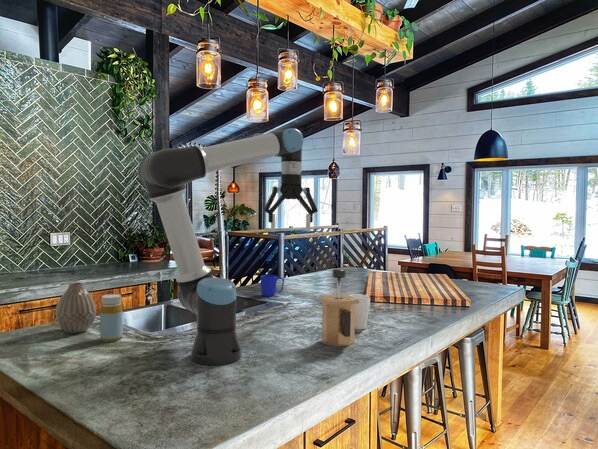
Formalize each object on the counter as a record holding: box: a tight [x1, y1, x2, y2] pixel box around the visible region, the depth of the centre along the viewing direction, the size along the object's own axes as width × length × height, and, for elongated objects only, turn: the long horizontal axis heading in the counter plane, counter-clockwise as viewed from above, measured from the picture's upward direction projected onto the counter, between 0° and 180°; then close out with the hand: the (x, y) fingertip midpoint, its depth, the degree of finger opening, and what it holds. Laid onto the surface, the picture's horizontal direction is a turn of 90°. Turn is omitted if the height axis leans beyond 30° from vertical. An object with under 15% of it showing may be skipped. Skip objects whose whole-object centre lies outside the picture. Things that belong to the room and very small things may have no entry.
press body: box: [318, 293, 359, 347], centre depth 151 cm, size 10×13×15 cm
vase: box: [55, 281, 97, 334], centre depth 161 cm, size 13×13×18 cm
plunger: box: [332, 268, 347, 299], centre depth 152 cm, size 8×8×20 cm
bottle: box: [99, 293, 124, 343], centre depth 151 cm, size 7×7×15 cm
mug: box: [259, 274, 285, 297], centre depth 227 cm, size 8×12×10 cm
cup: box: [348, 293, 371, 331], centre depth 170 cm, size 9×9×12 cm
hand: (290, 231), depth 164 cm, fingers open, 13 cm apart
